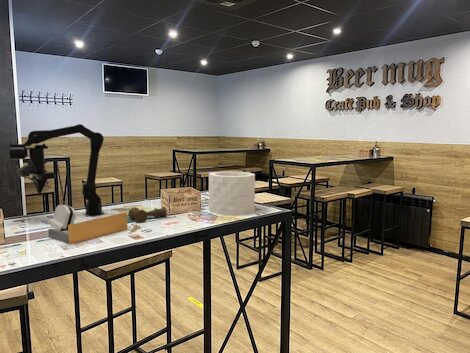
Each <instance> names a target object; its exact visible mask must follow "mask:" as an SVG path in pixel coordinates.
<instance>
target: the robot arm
mask: <svg viewBox="0 0 470 353" xmlns="http://www.w3.org/2000/svg"><path fill="white" fill-rule="evenodd" d="M74 134H81V135H82V136H84V137H86V138H87V139H88V140H89V148H90V151H89V152H90V153H89V158H88V160H89V161H88V168H87V175H86V180H85V182H81V189H80V192H81V193H82V194H81V195H82V197H83V198H84V199H85V200H86V204H85V212H84V215H85V216H89V217H95V216H96V217H97V216H100V215H104V214H105V212H103V207H102V206H103V204H102V201H101V200H102V198H101V196H100V195H99V194H98V193H97V187H96V176H97V169H98V164H99V155H100V151H101V149H102V146H103V142H104V140H105V139H104V136H103V134H102V133H101V132H97V131H96V132H94V131H92V130H91V129H89V128H87V127H86V126H84V125H83V124H80V123H79V124H76V125H71V126H65V127H61V128H56V129H55V128H54V129H46V130H45V129H44V130H32V131H30V132H29V133H28V135H27V138H28V139H27V140H26V141H25V142H24V143H21V144H20V143H10V144H9V152H8V153H9V154H8V155H9V159H10V160H26V158H28V157H29V160H28V161H27V164H26V165H23V166H21V167H19V168H17V169H15V171H16V174H17V176H18V177H19V178H20V177H21V178H26V177H27V176H28V178H27V179H28V180H29V181H31V182H32V183H33V186H34V188H35V190H36V192H37V194H42V191H43V189H44V187H45V186H46V183H47V182H48V180H52V179H53V180H54V179H56V173H55V172H53V171H48V170H47V169H46V164H47V162H48V161H47V160H46V159H45V149H49V146H48V145H46V144H45V143H44V142H46V141H49V140H51V139H54V138H60V137H65V136H70V135H74ZM41 143H43V144H41ZM32 145H34V146H33V147H32Z"/></svg>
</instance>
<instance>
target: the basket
mask: <svg viewBox="0 0 470 353" xmlns="http://www.w3.org/2000/svg"><path fill="white" fill-rule="evenodd" d="M255 187H256V174H255V173H252V172H247V171H234V170H233V171H229V170H228V171H225V170H224V171H213V172H211V171H210V172H209V173H208V211H209V212H210V213H212V214H215V213H216V214H215V215H220V214H221V215H223V216H231V215H232V216H245V215H248V214H249V213H250V214H252V212H253V213H254V212H255V211H256V204H255V199H256V192H255ZM244 214H245V215H244ZM250 214H249V215H250Z"/></svg>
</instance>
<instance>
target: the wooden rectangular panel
mask: <svg viewBox="0 0 470 353" xmlns="http://www.w3.org/2000/svg"><path fill="white" fill-rule="evenodd" d="M127 215H128V212H126V211H125V212H121V213H120V212H119V213H116V214H111V215H106V216H102V217H97V218H93V219H87V220H84V221H80V222H76V223H75V222H74V223H73V224H70V225H68V228H67V229H68V230H67V232H64V231H63V230H62V231H61V230H60V231H59V230H56V229H55V228H48V237H49V238H50V239H53V240H56V241H60V242H63V243H65V244H69V245H73V244H77V243H81V242H84V241H88V240H92V239H96V238H99V237H102V236H103V237H104V236H107V235H111V234H114V233H118V232H122V231H126V230H128V217H127Z"/></svg>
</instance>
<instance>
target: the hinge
mask: <svg viewBox="0 0 470 353" xmlns="http://www.w3.org/2000/svg"><path fill="white" fill-rule="evenodd" d="M76 215H77V213H76V210H75V209H74V207H72V206H69V205H67V204H58V205H57V206H56V207H55V210H54V212H53V216H52V218H50V219H49V220H48V223H47V224H48V226H50V227H52V229H55V230H59V231H61V230H62V229H64V230H66V229H68V225H70V224H75V218H76Z"/></svg>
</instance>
